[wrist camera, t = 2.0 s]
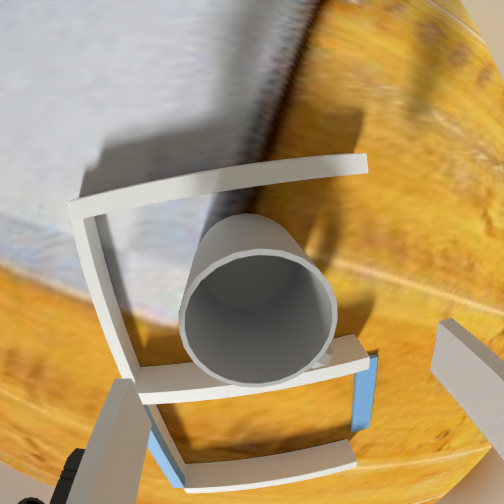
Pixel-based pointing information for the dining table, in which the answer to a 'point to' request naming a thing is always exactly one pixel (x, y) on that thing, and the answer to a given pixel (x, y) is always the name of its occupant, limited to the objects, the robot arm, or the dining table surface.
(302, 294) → the cup
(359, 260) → the dining table surface
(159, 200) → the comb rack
